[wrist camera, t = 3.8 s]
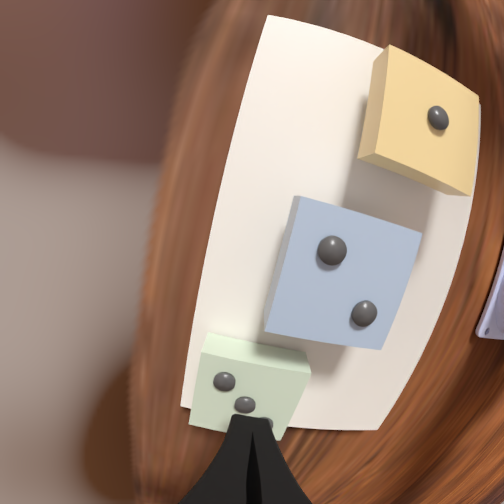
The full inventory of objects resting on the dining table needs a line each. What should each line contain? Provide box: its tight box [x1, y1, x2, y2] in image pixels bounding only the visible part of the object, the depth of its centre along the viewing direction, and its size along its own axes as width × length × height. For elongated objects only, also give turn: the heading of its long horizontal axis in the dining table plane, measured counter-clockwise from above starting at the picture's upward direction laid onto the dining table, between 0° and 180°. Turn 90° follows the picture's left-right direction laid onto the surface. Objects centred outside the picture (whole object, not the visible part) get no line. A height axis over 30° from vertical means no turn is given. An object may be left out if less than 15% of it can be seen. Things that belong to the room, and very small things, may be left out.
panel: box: [181, 15, 481, 430], centre depth 11 cm, size 12×20×2 cm, turn 167°
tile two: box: [264, 196, 423, 350], centre depth 9 cm, size 4×4×2 cm
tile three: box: [189, 332, 311, 440], centre depth 12 cm, size 4×4×2 cm
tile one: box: [357, 44, 479, 197], centre depth 8 cm, size 4×4×2 cm
